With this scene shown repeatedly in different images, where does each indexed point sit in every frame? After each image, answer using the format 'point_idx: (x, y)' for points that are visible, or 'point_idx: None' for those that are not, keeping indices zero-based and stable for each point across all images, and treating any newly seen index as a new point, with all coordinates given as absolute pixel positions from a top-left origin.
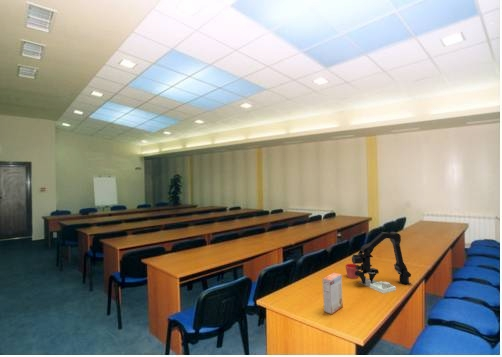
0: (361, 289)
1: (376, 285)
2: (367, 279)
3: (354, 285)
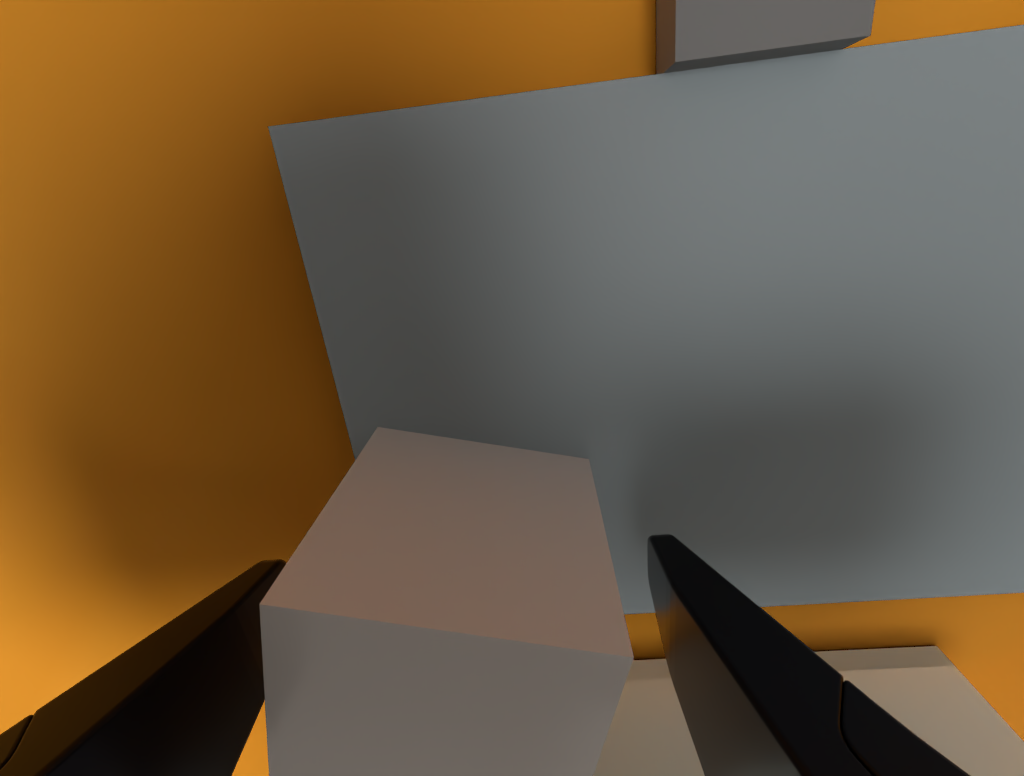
0: None
1: (679, 718)
2: (451, 766)
3: (9, 353)
